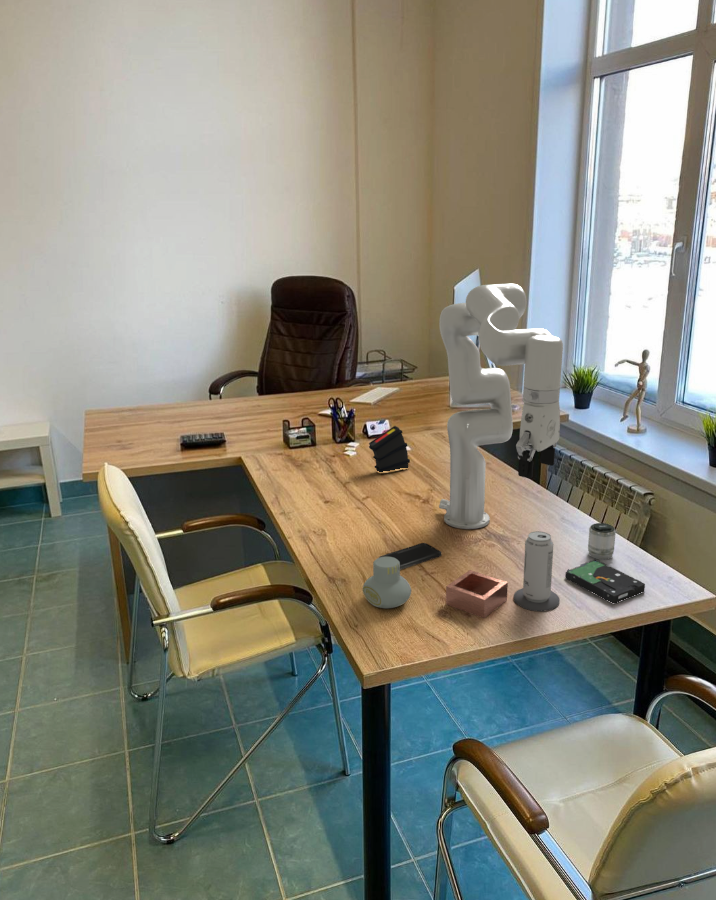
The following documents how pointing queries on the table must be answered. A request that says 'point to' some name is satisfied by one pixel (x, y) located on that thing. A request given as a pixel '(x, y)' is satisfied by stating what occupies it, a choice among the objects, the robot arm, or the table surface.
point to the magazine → (390, 450)
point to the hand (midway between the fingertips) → (536, 470)
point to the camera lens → (601, 541)
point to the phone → (414, 555)
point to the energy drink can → (538, 567)
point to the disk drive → (605, 581)
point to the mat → (543, 606)
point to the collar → (473, 602)
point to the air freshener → (386, 584)
